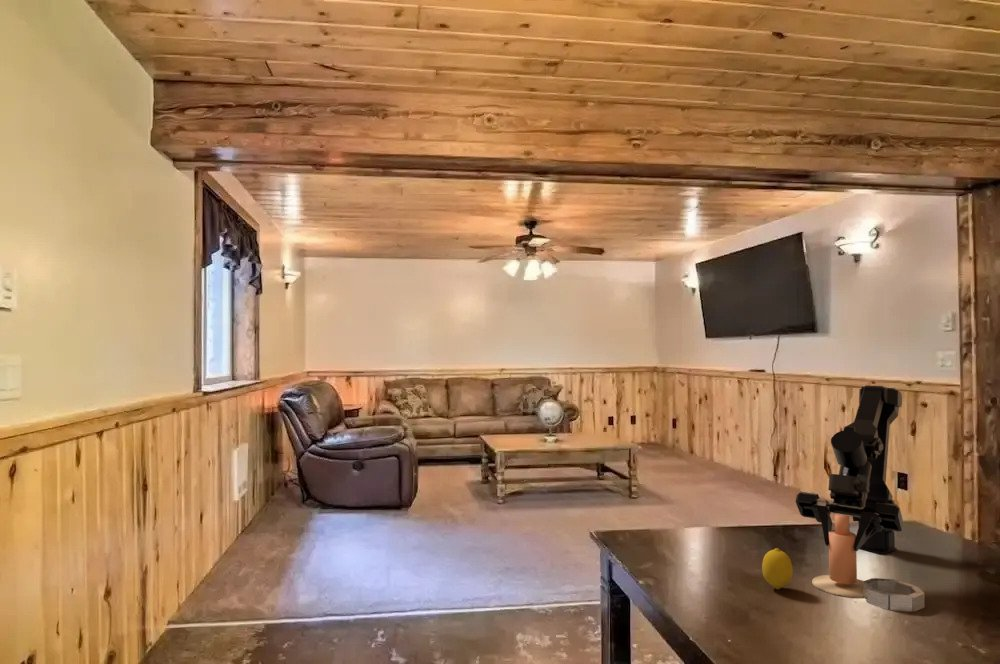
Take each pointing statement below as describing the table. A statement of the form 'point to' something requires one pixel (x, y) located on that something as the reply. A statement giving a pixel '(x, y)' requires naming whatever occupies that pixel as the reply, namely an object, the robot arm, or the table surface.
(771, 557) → the lemon
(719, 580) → the table surface
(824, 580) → the coaster
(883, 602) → the ring
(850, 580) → the pin
